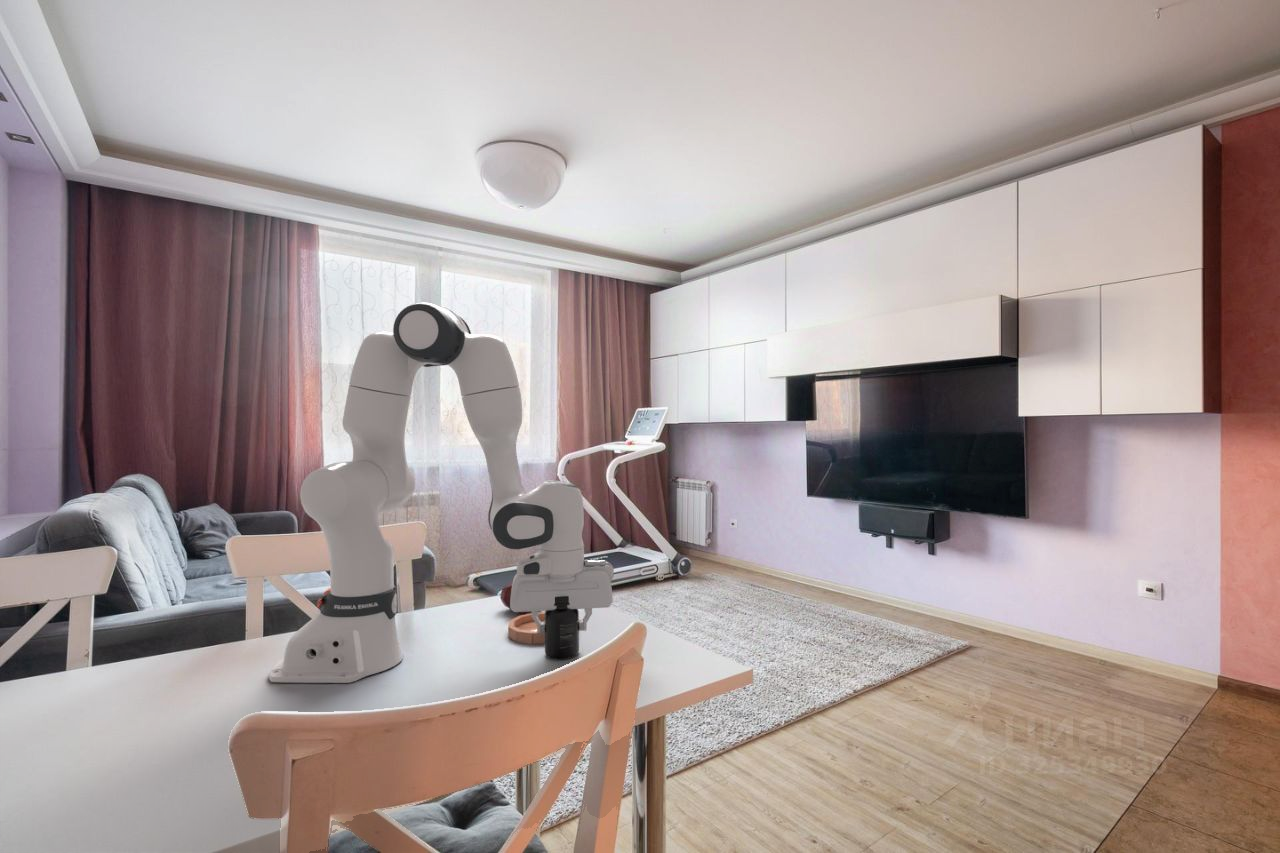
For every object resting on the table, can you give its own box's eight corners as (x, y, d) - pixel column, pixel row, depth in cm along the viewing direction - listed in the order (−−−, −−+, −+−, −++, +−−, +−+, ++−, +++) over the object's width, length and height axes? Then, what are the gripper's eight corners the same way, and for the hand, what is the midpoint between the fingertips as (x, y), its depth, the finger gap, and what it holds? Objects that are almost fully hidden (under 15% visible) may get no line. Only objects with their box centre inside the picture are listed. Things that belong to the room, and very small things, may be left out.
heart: (534, 598, 157) (498, 611, 151) (530, 570, 156) (494, 581, 150) (556, 611, 147) (519, 624, 141) (552, 580, 146) (515, 592, 140)
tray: (506, 645, 125) (506, 635, 125) (510, 623, 139) (510, 613, 139) (576, 641, 127) (576, 630, 127) (572, 619, 142) (572, 610, 142)
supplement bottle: (582, 648, 123) (582, 589, 123) (575, 661, 117) (575, 599, 117) (549, 647, 124) (549, 588, 124) (540, 659, 117) (540, 597, 117)
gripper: (611, 556, 125) (611, 623, 125) (510, 560, 122) (511, 628, 122) (615, 563, 119) (615, 633, 119) (509, 567, 116) (509, 639, 115)
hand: (561, 631), depth 120 cm, fingers closed on supplement bottle, 7 cm apart
